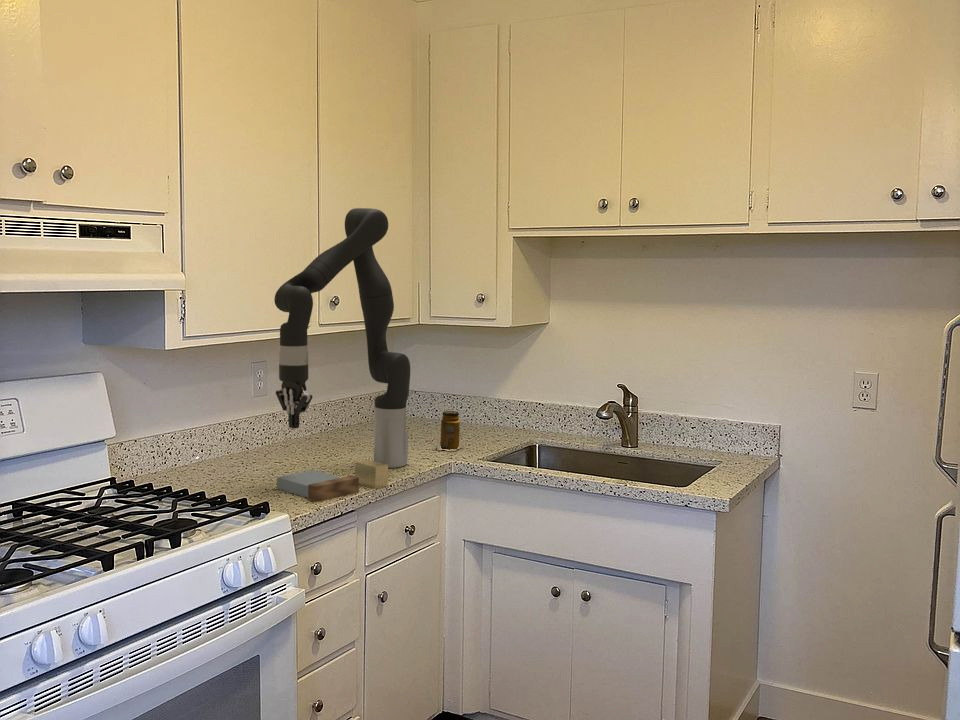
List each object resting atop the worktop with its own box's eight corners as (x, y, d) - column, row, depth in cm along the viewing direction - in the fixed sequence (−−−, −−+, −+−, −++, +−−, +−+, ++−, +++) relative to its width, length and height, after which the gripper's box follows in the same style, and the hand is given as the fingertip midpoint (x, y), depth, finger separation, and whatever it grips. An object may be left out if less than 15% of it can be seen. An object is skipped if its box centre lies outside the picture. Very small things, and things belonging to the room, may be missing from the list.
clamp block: (367, 481, 244) (367, 459, 243) (387, 486, 239) (388, 464, 238) (354, 484, 241) (355, 462, 240) (375, 489, 235) (375, 467, 235)
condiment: (463, 447, 292) (464, 411, 291) (454, 452, 284) (455, 415, 283) (442, 445, 294) (443, 409, 293) (432, 450, 286) (433, 413, 285)
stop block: (351, 490, 233) (351, 475, 233) (358, 492, 231) (359, 477, 231) (308, 500, 222) (308, 484, 222) (315, 502, 220) (316, 486, 220)
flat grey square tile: (313, 480, 241) (313, 469, 241) (348, 490, 232) (348, 479, 232) (276, 488, 232) (276, 477, 232) (311, 498, 223) (311, 487, 223)
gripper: (321, 363, 232) (321, 429, 234) (289, 359, 241) (289, 422, 243) (298, 366, 227) (298, 433, 229) (266, 361, 235) (266, 426, 237)
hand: (293, 427), depth 236 cm, fingers closed
